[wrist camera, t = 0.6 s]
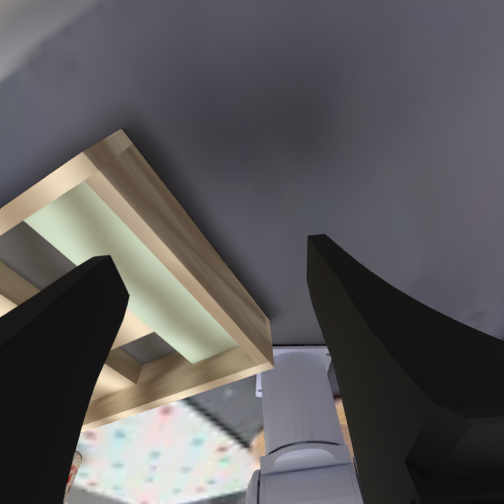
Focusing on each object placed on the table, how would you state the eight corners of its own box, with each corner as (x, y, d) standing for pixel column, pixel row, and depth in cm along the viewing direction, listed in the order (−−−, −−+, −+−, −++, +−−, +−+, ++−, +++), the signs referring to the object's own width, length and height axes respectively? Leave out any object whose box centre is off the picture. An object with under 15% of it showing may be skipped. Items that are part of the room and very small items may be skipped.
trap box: (121, 128, 17) (82, 151, 13) (269, 320, 27) (274, 367, 23) (-105, 284, 23) (-179, 333, 19) (84, 392, 34) (62, 438, 30)
